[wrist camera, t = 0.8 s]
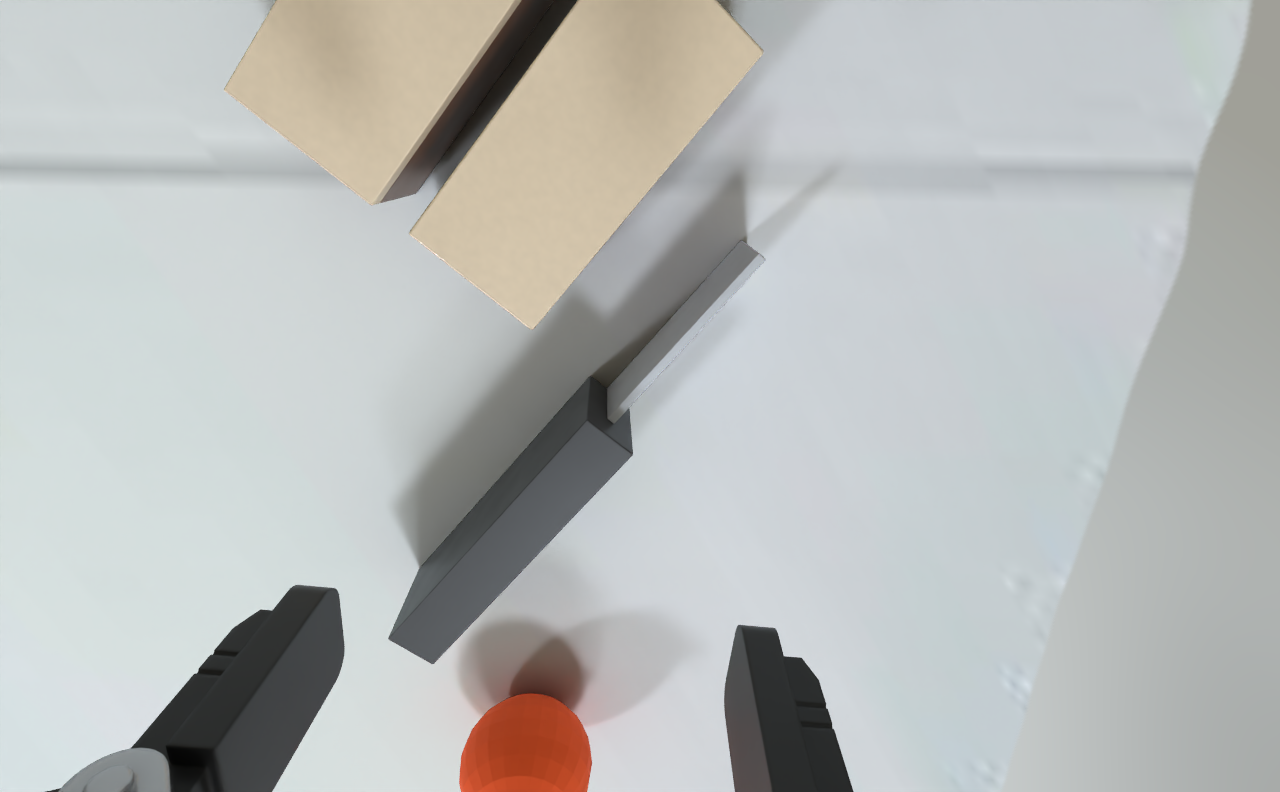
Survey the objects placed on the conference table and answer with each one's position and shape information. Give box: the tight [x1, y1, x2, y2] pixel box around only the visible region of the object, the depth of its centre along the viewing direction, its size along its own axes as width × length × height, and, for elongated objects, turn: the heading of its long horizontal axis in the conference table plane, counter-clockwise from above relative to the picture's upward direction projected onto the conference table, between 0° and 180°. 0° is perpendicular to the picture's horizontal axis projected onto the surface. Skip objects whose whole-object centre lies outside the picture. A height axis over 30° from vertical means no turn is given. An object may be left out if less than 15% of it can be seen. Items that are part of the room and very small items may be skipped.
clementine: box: [459, 693, 592, 792], centre depth 33 cm, size 8×7×7 cm
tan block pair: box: [224, 0, 763, 330], centre depth 22 cm, size 12×12×5 cm
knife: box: [388, 240, 766, 664], centre depth 28 cm, size 23×2×5 cm, turn 139°
